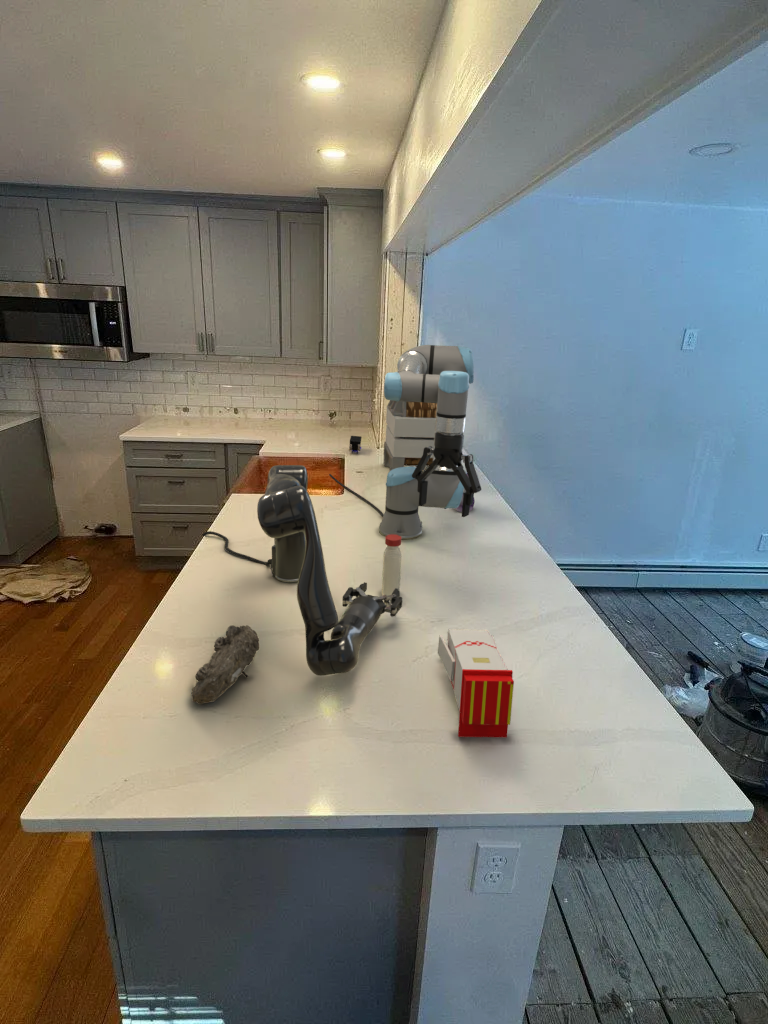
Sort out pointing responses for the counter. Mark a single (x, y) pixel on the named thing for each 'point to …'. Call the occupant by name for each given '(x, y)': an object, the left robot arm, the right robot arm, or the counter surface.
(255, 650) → the fossil
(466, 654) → the toy
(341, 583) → the counter surface
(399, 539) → the cap
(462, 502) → the figurine
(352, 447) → the figurine character
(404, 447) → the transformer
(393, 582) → the bottle
